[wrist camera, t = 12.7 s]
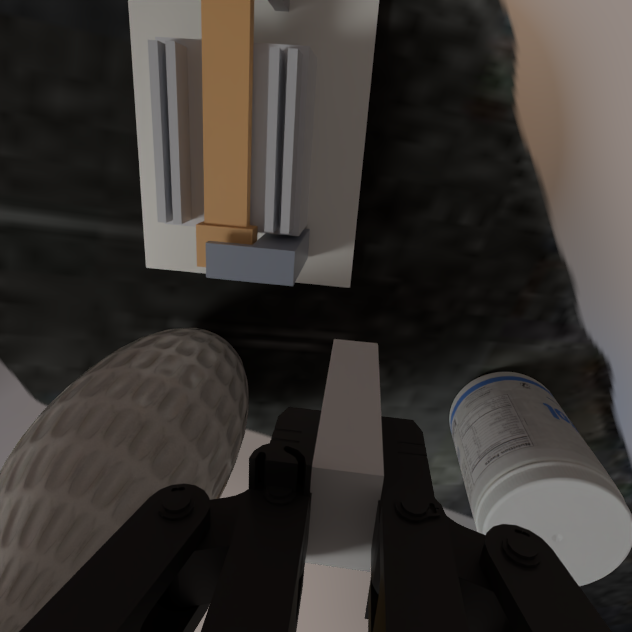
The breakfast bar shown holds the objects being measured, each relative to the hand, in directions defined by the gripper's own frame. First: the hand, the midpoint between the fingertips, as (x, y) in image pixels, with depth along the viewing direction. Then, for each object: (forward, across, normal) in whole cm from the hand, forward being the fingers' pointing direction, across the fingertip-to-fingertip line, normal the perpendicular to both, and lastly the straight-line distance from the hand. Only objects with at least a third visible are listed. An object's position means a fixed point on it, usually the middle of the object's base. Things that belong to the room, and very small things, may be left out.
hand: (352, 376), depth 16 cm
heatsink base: (+24, -10, +8) cm, 27 cm away
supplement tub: (+24, +14, -15) cm, 32 cm away
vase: (+24, -14, -13) cm, 31 cm away
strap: (+18, -10, +8) cm, 22 cm away
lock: (+23, -7, -1) cm, 24 cm away
